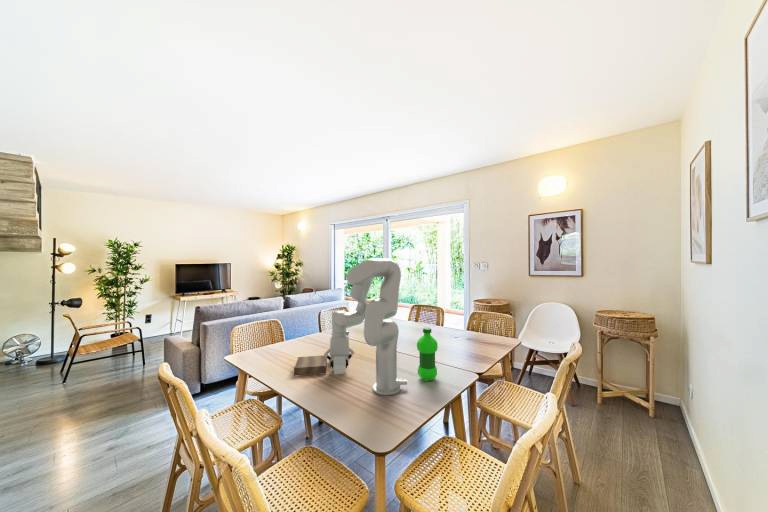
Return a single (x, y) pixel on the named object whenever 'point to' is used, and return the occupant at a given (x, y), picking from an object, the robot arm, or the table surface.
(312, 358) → the walnut stand
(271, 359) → the table surface
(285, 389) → the table surface
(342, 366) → the white rectangular block
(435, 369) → the plastic bottle
